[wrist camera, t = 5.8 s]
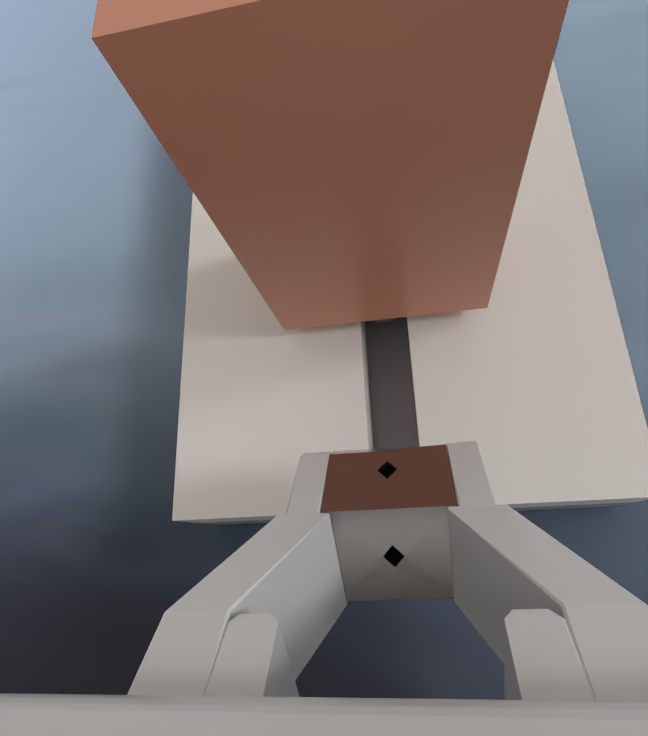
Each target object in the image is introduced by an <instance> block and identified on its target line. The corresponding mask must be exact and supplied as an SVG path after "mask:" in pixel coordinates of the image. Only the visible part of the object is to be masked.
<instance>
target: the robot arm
mask: <svg viewBox="0 0 648 736" xmlns="http://www.w3.org/2000/svg"><path fill="white" fill-rule="evenodd" d="M399 597H400V598H399ZM384 599H454V602H455V603H456V604H457V606H458V607H459V608H460V609H461V611H462V612H463V613H464V615H465V616H466V617H467V618H468V620H469V621H470V622H471V623H472V625H473V626H474V627H475V628H476V630H477V631H478V632H479V633H480V635H481V636H482V637H483V638H484V640H485V641H486V642H487V643H488V645H489V646H490V647H491V649H492V650H493V651H494V652H495V654H496V655H497V656H498V657H499V659H500V660H501V661H502V662H503V664H504V665H505V700H488V699H410V698H333V697H299V694H298V690H297V687H296V683H295V681H296V679H297V678H298V676H299V675H300V673H301V672H302V670H303V669H304V667H305V666H306V664H307V663H308V661H309V660H310V659H311V657H312V656H313V654H314V653H315V651H316V650H317V648H318V647H319V645H320V644H321V642H322V641H323V639H324V638H325V636H326V635H327V633H328V632H329V631H330V629H331V628H332V626H333V625H334V623H335V622H336V620H337V619H338V617H339V616H340V614H341V613H342V611H343V610H344V608H345V607H346V605H347V601H363V600H384ZM0 736H648V605H647V604H645V603H644V602H643V601H641V600H640V599H638V598H637V597H636V596H634V595H633V594H631V593H630V592H629V591H627V590H626V589H624V588H623V587H622V586H620V585H619V584H617V583H616V582H615V581H613V580H612V579H610V578H609V577H608V576H606V575H605V574H603V573H602V572H601V571H599V570H598V569H596V568H595V567H594V566H592V565H591V564H589V563H588V562H587V561H585V560H584V559H582V558H581V557H580V556H578V555H577V554H575V553H574V552H573V551H571V550H570V549H568V548H567V547H566V546H564V545H563V544H561V543H560V542H559V541H557V540H556V539H554V538H553V537H552V536H550V535H549V534H547V533H546V532H545V531H543V530H542V529H540V528H539V527H538V526H536V525H535V524H533V523H532V522H531V521H529V520H528V519H526V518H525V517H523V516H522V515H521V514H519V513H518V512H516V511H515V510H514V509H512V508H511V507H509V506H508V505H506V504H503V505H497V503H496V500H495V497H494V493H493V490H492V487H491V483H490V480H489V476H488V473H487V470H486V466H485V463H484V460H483V456H482V453H481V450H480V446H479V443H478V442H476V441H468V442H458V443H448V444H444V445H432V446H420V447H408V448H397V449H367V450H346V451H332V452H330V451H326V452H312V453H304V454H303V455H302V456H301V457H300V460H299V464H298V468H297V472H296V476H295V480H294V484H293V488H292V491H291V495H290V499H289V503H288V507H287V511H286V515H278V516H276V517H275V518H274V519H273V520H271V521H270V522H269V523H268V524H267V525H266V526H264V527H263V528H262V529H261V530H260V531H259V532H257V533H256V534H255V535H254V536H253V537H252V538H250V539H249V540H248V541H247V542H246V543H245V544H243V545H242V546H241V547H240V548H239V549H238V550H236V551H235V552H234V553H233V554H232V555H231V556H229V557H228V558H227V559H226V560H225V561H224V562H222V563H221V564H220V565H219V566H218V567H217V568H215V569H214V570H213V571H212V572H211V573H210V574H208V575H207V576H206V577H205V578H204V579H203V580H201V581H200V582H199V583H198V584H197V585H196V586H194V587H193V588H192V589H191V590H190V591H189V592H187V593H186V594H185V595H184V596H183V597H182V598H180V599H179V600H178V601H177V602H176V603H175V604H173V605H172V606H171V607H170V608H169V609H168V610H166V611H165V612H164V614H163V617H162V619H161V621H160V623H159V626H158V628H157V630H156V632H155V634H154V637H153V639H152V641H151V643H150V645H149V648H148V650H147V652H146V654H145V656H144V659H143V661H142V663H141V665H140V667H139V670H138V672H137V674H136V676H135V678H134V681H133V683H132V685H131V687H130V689H129V692H128V694H127V695H97V694H17V693H0Z"/></svg>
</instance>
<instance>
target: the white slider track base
mask: <svg viewBox="0 0 648 736" xmlns="http://www.w3.org/2000/svg"><path fill="white" fill-rule="evenodd" d="M468 441H476V442H478V443H479V446H480V450H481V453H482V456H483V460H484V463H485V466H486V470H487V473H488V476H489V480H490V483H491V487H492V490H493V493H494V497H495V500H496V503H497V505H503V504H506V505H508V506H509V507H511V508H512V509H514V510H515V511H527V510H548V509H570V508H591V507H613V506H619V505H624V504H629V503H635V502H640V501H645V500H648V428H647V424H646V420H645V416H644V412H643V408H642V405H641V401H640V397H639V393H638V389H637V385H636V381H635V377H634V373H633V369H632V365H631V361H630V358H629V354H628V350H627V346H626V342H625V338H624V334H623V330H622V326H621V322H620V318H619V315H618V311H617V307H616V303H615V299H614V295H613V291H612V287H611V283H610V279H609V275H608V271H607V268H606V264H605V260H604V256H603V252H602V248H601V244H600V240H599V236H598V232H597V228H596V224H595V221H594V217H593V213H592V209H591V205H590V201H589V197H588V193H587V189H586V185H585V181H584V178H583V174H582V170H581V166H580V162H579V158H578V154H577V150H576V146H575V142H574V138H573V134H572V131H571V127H570V123H569V119H568V115H567V111H566V107H565V103H564V99H563V95H562V91H561V87H560V84H559V80H558V76H557V72H556V68H555V64H554V60H553V61H552V65H551V69H550V73H549V77H548V80H547V84H546V88H545V92H544V96H543V99H542V103H541V107H540V111H539V114H538V118H537V122H536V126H535V130H534V133H533V137H532V141H531V145H530V148H529V152H528V156H527V160H526V164H525V167H524V171H523V175H522V179H521V183H520V186H519V190H518V194H517V198H516V201H515V205H514V209H513V213H512V217H511V220H510V224H509V228H508V232H507V235H506V239H505V243H504V247H503V251H502V254H501V258H500V262H499V266H498V270H497V273H496V277H495V281H494V285H493V288H492V292H491V296H490V300H489V304H488V307H487V308H481V309H472V310H463V311H454V312H445V313H436V314H427V315H418V316H409V317H400V318H396V322H392V323H382V324H375V322H374V320H373V321H364V322H355V323H346V324H337V325H328V326H319V327H310V328H301V329H292V330H284V329H283V328H282V326H281V324H280V323H279V321H278V320H277V318H276V317H275V315H274V314H273V312H272V311H271V309H270V308H269V306H268V305H267V303H266V302H265V300H264V299H263V297H262V296H261V294H260V293H259V291H258V290H257V288H256V287H255V285H254V284H253V282H252V281H251V279H250V278H249V276H248V274H247V273H246V271H245V270H244V268H243V267H242V265H241V264H240V262H239V261H238V259H237V258H236V256H235V255H234V253H233V252H232V250H231V249H230V247H229V246H228V244H227V243H226V241H225V240H224V238H223V237H222V235H221V234H220V232H219V231H218V229H217V227H216V226H215V224H214V223H213V221H212V220H211V218H210V217H209V215H208V214H207V212H206V211H205V209H204V208H203V206H202V205H201V203H200V202H199V200H198V199H197V197H196V196H195V194H194V193H193V197H192V212H191V228H190V244H189V260H188V276H187V292H186V308H185V324H184V340H183V356H182V372H181V387H180V403H179V419H178V435H177V451H176V467H175V483H174V499H173V515H172V521H181V522H192V523H203V524H214V525H228V524H249V523H269V522H270V521H271V520H273V519H274V518H275V517H276V516H278V515H286V511H287V507H288V503H289V499H290V495H291V491H292V488H293V484H294V480H295V476H296V472H297V468H298V464H299V460H300V457H301V456H302V455H303V454H304V453H312V452H326V451H330V452H332V451H346V450H367V449H397V448H408V447H420V446H432V445H444V444H448V443H458V442H468Z"/></svg>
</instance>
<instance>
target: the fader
mask: <svg viewBox="0 0 648 736" xmlns="http://www.w3.org/2000/svg"><path fill="white" fill-rule="evenodd" d="M568 1H569V0H98V2H97V8H96V14H95V20H94V26H93V32H92V40H93V41H94V43H95V44H96V46H97V47H98V49H99V50H100V52H101V53H102V55H103V56H104V58H105V59H106V61H107V62H108V64H109V65H110V67H111V68H112V70H113V71H114V73H115V74H116V76H117V77H118V79H119V80H120V82H121V84H122V85H123V87H124V88H125V90H126V91H127V93H128V94H129V96H130V97H131V99H132V100H133V102H134V103H135V105H136V106H137V108H138V109H139V111H140V112H141V114H142V115H143V117H144V118H145V120H146V121H147V123H148V124H149V126H150V127H151V129H152V130H153V132H154V134H155V135H156V137H157V138H158V140H159V141H160V143H161V144H162V146H163V147H164V149H165V150H166V152H167V153H168V155H169V156H170V158H171V159H172V161H173V162H174V164H175V165H176V167H177V168H178V170H179V171H180V173H181V174H182V176H183V177H184V179H185V181H186V182H187V184H188V185H189V187H190V188H191V190H192V191H193V193H194V194H195V196H196V197H197V199H198V200H199V202H200V203H201V205H202V206H203V208H204V209H205V211H206V212H207V214H208V215H209V217H210V218H211V220H212V221H213V223H214V224H215V226H216V227H217V229H218V231H219V232H220V234H221V235H222V237H223V238H224V240H225V241H226V243H227V244H228V246H229V247H230V249H231V250H232V252H233V253H234V255H235V256H236V258H237V259H238V261H239V262H240V264H241V265H242V267H243V268H244V270H245V271H246V273H247V274H248V276H249V278H250V279H251V281H252V282H253V284H254V285H255V287H256V288H257V290H258V291H259V293H260V294H261V296H262V297H263V299H264V300H265V302H266V303H267V305H268V306H269V308H270V309H271V311H272V312H273V314H274V315H275V317H276V318H277V320H278V321H279V323H280V324H281V326H282V328H283V329H284V330H292V329H301V328H310V327H319V326H328V325H337V324H346V323H355V322H364V321H373V320H374V322H375V324H382V323H392V322H396V318H400V317H409V316H418V315H427V314H436V313H445V312H454V311H463V310H472V309H481V308H487V307H488V304H489V300H490V296H491V292H492V288H493V285H494V281H495V277H496V273H497V270H498V266H499V262H500V258H501V254H502V251H503V247H504V243H505V239H506V235H507V232H508V228H509V224H510V220H511V217H512V213H513V209H514V205H515V201H516V198H517V194H518V190H519V186H520V183H521V179H522V175H523V171H524V167H525V164H526V160H527V156H528V152H529V148H530V145H531V141H532V137H533V133H534V130H535V126H536V122H537V118H538V114H539V111H540V107H541V103H542V99H543V96H544V92H545V88H546V84H547V80H548V77H549V73H550V69H551V65H552V61H553V58H554V54H555V50H556V46H557V43H558V39H559V35H560V31H561V27H562V24H563V20H564V16H565V12H566V8H567V5H568Z"/></svg>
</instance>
